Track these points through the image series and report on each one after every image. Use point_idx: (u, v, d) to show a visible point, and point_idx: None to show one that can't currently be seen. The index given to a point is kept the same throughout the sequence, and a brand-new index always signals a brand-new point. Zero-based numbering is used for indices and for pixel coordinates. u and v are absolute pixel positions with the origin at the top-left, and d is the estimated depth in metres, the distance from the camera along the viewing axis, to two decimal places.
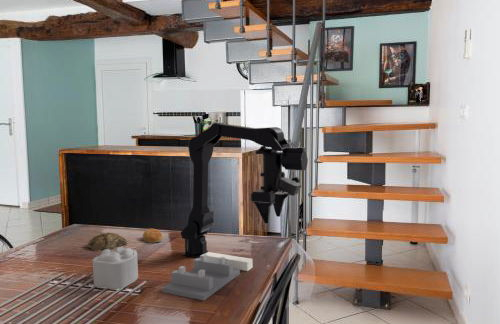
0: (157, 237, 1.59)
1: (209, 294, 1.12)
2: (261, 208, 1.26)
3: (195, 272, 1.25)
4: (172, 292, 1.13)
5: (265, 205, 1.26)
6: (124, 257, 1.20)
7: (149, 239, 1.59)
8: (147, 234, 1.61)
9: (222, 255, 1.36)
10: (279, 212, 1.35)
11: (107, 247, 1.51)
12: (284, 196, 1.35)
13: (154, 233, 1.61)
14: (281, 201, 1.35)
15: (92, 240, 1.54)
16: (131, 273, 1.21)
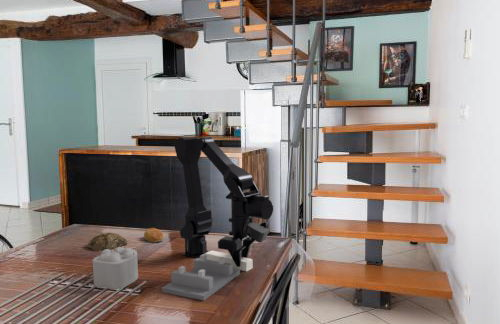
0: (158, 237, 1.59)
1: (209, 294, 1.12)
2: (233, 252, 1.29)
3: (195, 272, 1.25)
4: (172, 292, 1.13)
5: (236, 249, 1.29)
6: (124, 257, 1.20)
7: (150, 239, 1.59)
8: (148, 234, 1.61)
9: (224, 254, 1.36)
10: None
11: (107, 247, 1.51)
12: (250, 242, 1.33)
13: (155, 233, 1.61)
14: (247, 247, 1.33)
15: (92, 240, 1.53)
16: (131, 273, 1.21)
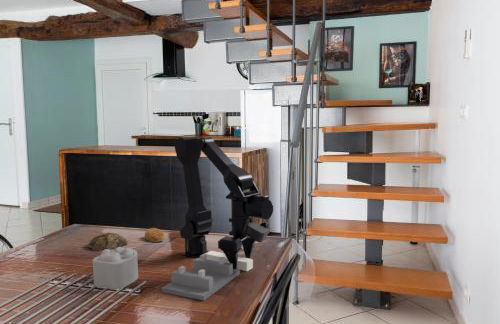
0: (159, 236, 1.60)
1: (209, 294, 1.12)
2: (229, 254, 1.27)
3: (195, 272, 1.25)
4: (172, 292, 1.13)
5: (233, 252, 1.26)
6: (124, 257, 1.20)
7: (151, 238, 1.60)
8: (149, 233, 1.62)
9: (224, 254, 1.36)
10: (249, 255, 1.36)
11: (108, 247, 1.50)
12: (254, 240, 1.35)
13: (156, 232, 1.62)
14: (251, 244, 1.36)
15: (93, 240, 1.53)
16: (130, 273, 1.21)
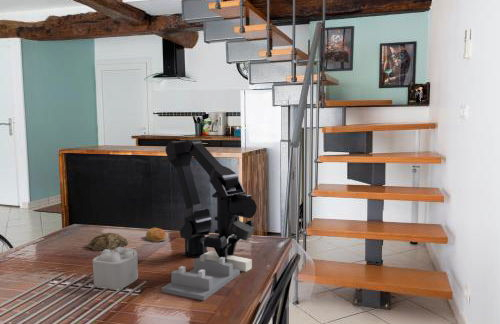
0: (162, 236, 1.60)
1: (209, 294, 1.12)
2: (218, 250, 1.31)
3: (195, 272, 1.25)
4: (172, 292, 1.13)
5: (222, 247, 1.31)
6: (124, 257, 1.20)
7: (153, 238, 1.60)
8: (151, 233, 1.62)
9: None
10: None
11: (108, 247, 1.50)
12: (236, 240, 1.35)
13: (158, 232, 1.62)
14: (233, 245, 1.35)
15: (93, 240, 1.53)
16: (130, 273, 1.21)
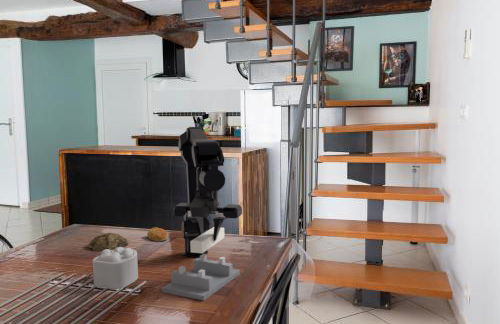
0: (163, 235, 1.61)
1: (209, 294, 1.12)
2: None
3: (195, 272, 1.25)
4: (172, 292, 1.13)
5: None
6: (124, 257, 1.20)
7: (155, 238, 1.61)
8: (152, 233, 1.62)
9: (213, 232, 1.24)
10: None
11: (108, 247, 1.50)
12: None
13: (159, 232, 1.63)
14: None
15: (93, 240, 1.53)
16: (130, 273, 1.21)
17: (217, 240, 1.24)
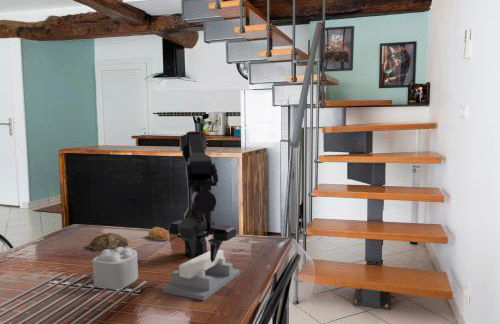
0: (165, 235, 1.61)
1: (209, 294, 1.12)
2: None
3: None
4: (172, 292, 1.13)
5: None
6: (124, 257, 1.20)
7: (157, 237, 1.61)
8: (154, 232, 1.63)
9: (208, 255, 1.22)
10: None
11: (108, 247, 1.50)
12: None
13: (161, 231, 1.63)
14: None
15: (93, 240, 1.53)
16: (130, 273, 1.21)
17: (212, 264, 1.22)
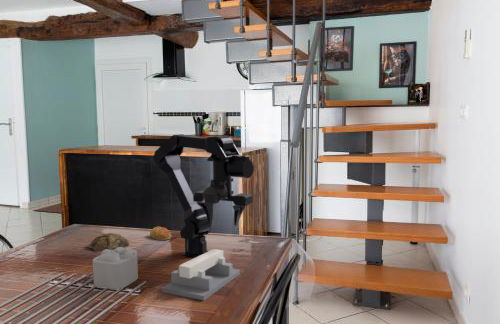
0: (167, 234, 1.62)
1: (209, 294, 1.12)
2: None
3: None
4: (172, 292, 1.13)
5: None
6: (124, 257, 1.20)
7: (159, 237, 1.62)
8: (156, 232, 1.64)
9: (208, 255, 1.22)
10: None
11: (109, 248, 1.50)
12: None
13: (163, 231, 1.64)
14: None
15: (94, 241, 1.53)
16: (130, 273, 1.21)
17: (212, 264, 1.22)
